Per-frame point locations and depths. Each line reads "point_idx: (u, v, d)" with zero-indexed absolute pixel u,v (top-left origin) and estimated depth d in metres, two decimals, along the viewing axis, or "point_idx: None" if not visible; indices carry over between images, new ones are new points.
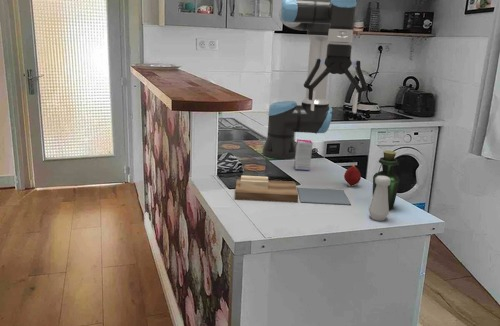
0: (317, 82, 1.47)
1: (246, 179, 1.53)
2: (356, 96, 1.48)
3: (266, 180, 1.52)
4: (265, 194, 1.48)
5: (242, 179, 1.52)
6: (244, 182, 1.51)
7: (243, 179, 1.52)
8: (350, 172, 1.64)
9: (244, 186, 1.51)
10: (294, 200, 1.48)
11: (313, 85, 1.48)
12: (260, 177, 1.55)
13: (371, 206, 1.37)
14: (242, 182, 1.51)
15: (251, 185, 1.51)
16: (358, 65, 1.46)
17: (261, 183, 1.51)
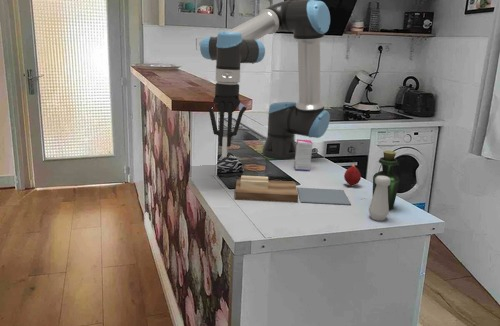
0: (221, 127, 1.48)
1: (246, 179, 1.53)
2: (225, 141, 1.49)
3: (266, 180, 1.52)
4: (265, 194, 1.48)
5: (242, 179, 1.52)
6: (244, 182, 1.51)
7: (243, 179, 1.52)
8: (350, 172, 1.64)
9: (244, 186, 1.51)
10: (294, 200, 1.48)
11: (220, 131, 1.48)
12: (260, 177, 1.55)
13: (371, 206, 1.37)
14: (242, 182, 1.51)
15: (251, 185, 1.51)
16: (242, 110, 1.46)
17: (261, 183, 1.51)
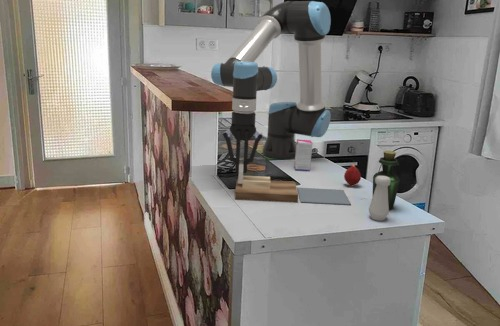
0: (237, 154, 1.50)
1: (248, 179, 1.53)
2: (242, 168, 1.51)
3: (268, 180, 1.52)
4: (265, 194, 1.48)
5: (244, 179, 1.52)
6: (247, 182, 1.51)
7: (245, 179, 1.52)
8: (350, 172, 1.64)
9: (246, 186, 1.51)
10: (294, 200, 1.48)
11: (237, 159, 1.51)
12: (262, 177, 1.55)
13: (371, 206, 1.37)
14: (245, 182, 1.51)
15: (253, 185, 1.51)
16: (258, 138, 1.49)
17: (263, 183, 1.51)
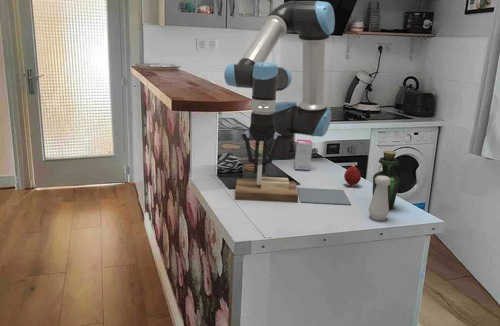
0: (256, 155, 1.50)
1: (266, 180, 1.53)
2: (260, 168, 1.51)
3: (287, 181, 1.52)
4: (265, 194, 1.48)
5: (263, 180, 1.52)
6: (265, 184, 1.51)
7: (264, 180, 1.52)
8: (350, 172, 1.64)
9: (265, 187, 1.51)
10: (294, 200, 1.48)
11: (255, 159, 1.51)
12: (280, 178, 1.55)
13: (371, 206, 1.37)
14: (263, 183, 1.51)
15: (272, 186, 1.51)
16: (277, 139, 1.49)
17: (282, 185, 1.51)
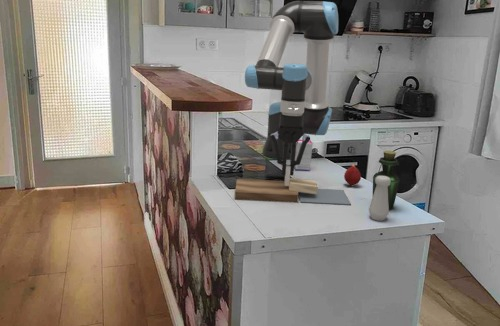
0: (285, 156, 1.50)
1: (295, 181, 1.52)
2: (289, 170, 1.51)
3: (315, 184, 1.52)
4: (265, 194, 1.48)
5: (291, 181, 1.52)
6: (294, 185, 1.50)
7: (292, 181, 1.52)
8: (350, 172, 1.64)
9: (293, 189, 1.51)
10: (294, 200, 1.48)
11: (284, 161, 1.51)
12: (308, 181, 1.55)
13: (371, 206, 1.37)
14: (292, 185, 1.50)
15: (300, 188, 1.51)
16: (306, 140, 1.49)
17: (311, 187, 1.50)
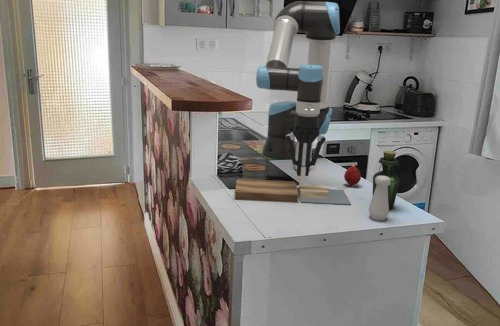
0: (300, 157, 1.50)
1: (305, 188, 1.53)
2: (304, 171, 1.51)
3: (325, 190, 1.52)
4: (265, 194, 1.48)
5: (301, 189, 1.52)
6: (304, 192, 1.51)
7: (302, 189, 1.52)
8: (350, 172, 1.64)
9: (304, 196, 1.51)
10: (294, 200, 1.48)
11: (299, 162, 1.51)
12: (318, 186, 1.55)
13: (371, 206, 1.37)
14: (302, 192, 1.51)
15: (311, 194, 1.51)
16: (322, 141, 1.49)
17: (321, 193, 1.51)
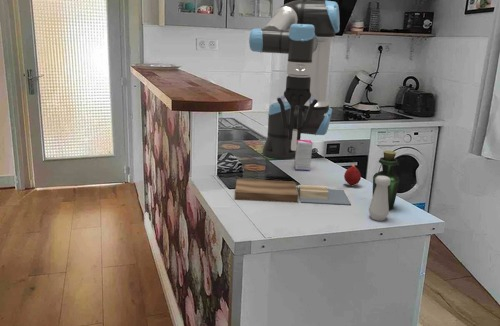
0: (292, 120, 1.47)
1: (305, 188, 1.53)
2: (295, 134, 1.48)
3: (325, 190, 1.52)
4: (265, 194, 1.48)
5: (301, 189, 1.52)
6: (304, 192, 1.51)
7: (302, 189, 1.52)
8: (350, 172, 1.64)
9: (304, 196, 1.51)
10: (294, 200, 1.48)
11: (290, 125, 1.48)
12: (318, 186, 1.55)
13: (371, 206, 1.37)
14: (302, 192, 1.51)
15: (311, 194, 1.51)
16: (313, 103, 1.46)
17: (321, 193, 1.51)
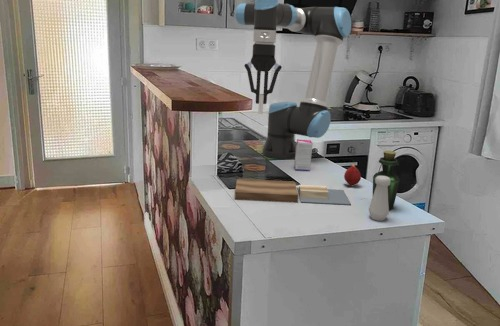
0: (258, 85, 1.59)
1: (305, 188, 1.53)
2: (262, 98, 1.60)
3: (325, 190, 1.52)
4: (265, 194, 1.48)
5: (301, 189, 1.52)
6: (304, 192, 1.51)
7: (302, 189, 1.52)
8: (350, 172, 1.64)
9: (304, 196, 1.51)
10: (294, 200, 1.48)
11: (257, 89, 1.59)
12: (318, 186, 1.55)
13: (371, 206, 1.37)
14: (302, 192, 1.51)
15: (311, 194, 1.51)
16: (278, 69, 1.57)
17: (321, 193, 1.51)
